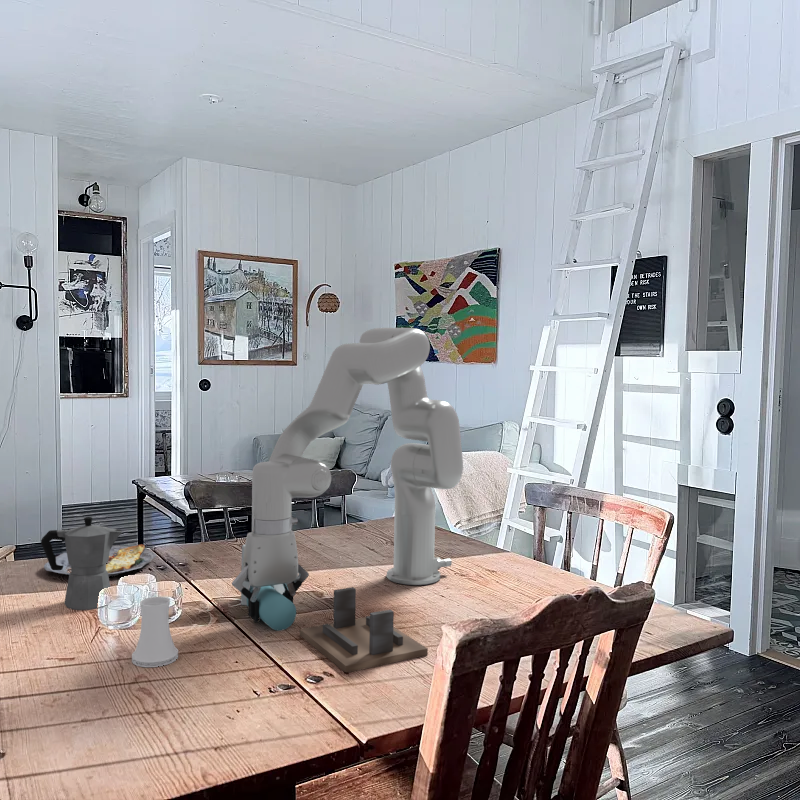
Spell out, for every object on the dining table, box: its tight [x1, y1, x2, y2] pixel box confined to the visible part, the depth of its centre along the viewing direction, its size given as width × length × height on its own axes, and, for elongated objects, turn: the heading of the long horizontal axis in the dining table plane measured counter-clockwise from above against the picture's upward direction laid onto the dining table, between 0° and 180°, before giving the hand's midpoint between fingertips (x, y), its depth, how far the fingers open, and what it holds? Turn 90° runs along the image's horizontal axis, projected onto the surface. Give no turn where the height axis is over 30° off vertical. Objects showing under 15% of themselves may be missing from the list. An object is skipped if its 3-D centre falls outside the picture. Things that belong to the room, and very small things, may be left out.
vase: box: [131, 596, 179, 668], centre depth 131 cm, size 8×8×10 cm
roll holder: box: [299, 586, 429, 673], centre depth 139 cm, size 16×19×8 cm
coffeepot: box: [40, 516, 123, 611], centre depth 158 cm, size 15×9×18 cm, turn 110°
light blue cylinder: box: [246, 586, 297, 632], centre depth 151 cm, size 11×6×6 cm, turn 31°
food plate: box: [43, 543, 157, 577], centre depth 186 cm, size 25×23×4 cm
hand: (270, 616), depth 151 cm, fingers closed on light blue cylinder, 6 cm apart
